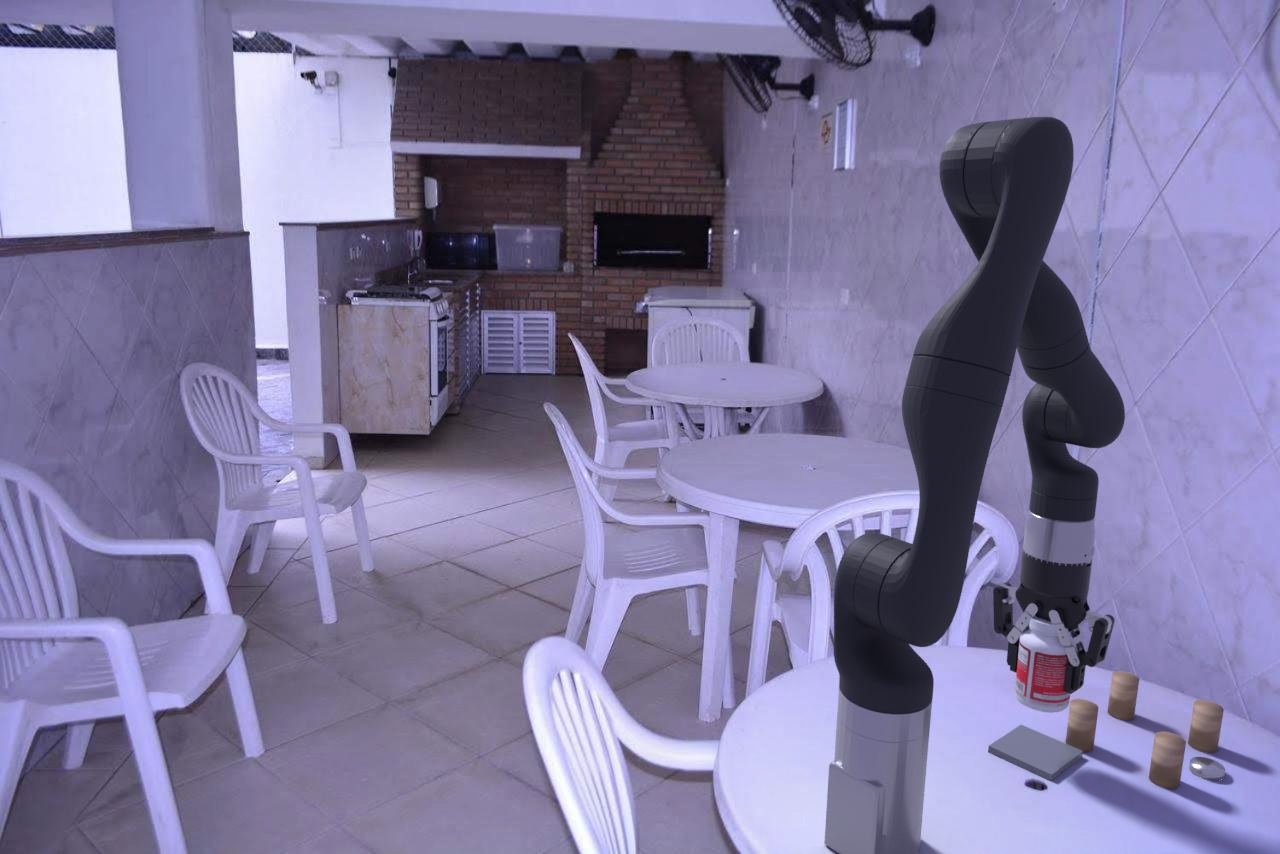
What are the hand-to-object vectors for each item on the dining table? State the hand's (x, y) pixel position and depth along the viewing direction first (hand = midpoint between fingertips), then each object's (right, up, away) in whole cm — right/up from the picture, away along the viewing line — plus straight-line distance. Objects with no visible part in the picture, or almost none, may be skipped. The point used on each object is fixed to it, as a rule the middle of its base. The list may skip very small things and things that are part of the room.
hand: (1043, 680), depth 112 cm
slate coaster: (0, -10, +2) cm, 10 cm away
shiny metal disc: (+19, -11, -1) cm, 22 cm away
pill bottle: (0, -3, +1) cm, 3 cm away
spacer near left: (+13, -11, -3) cm, 17 cm away
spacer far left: (+22, -10, +4) cm, 24 cm away
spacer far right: (+16, -8, +12) cm, 21 cm away
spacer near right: (+6, -9, +4) cm, 12 cm away
